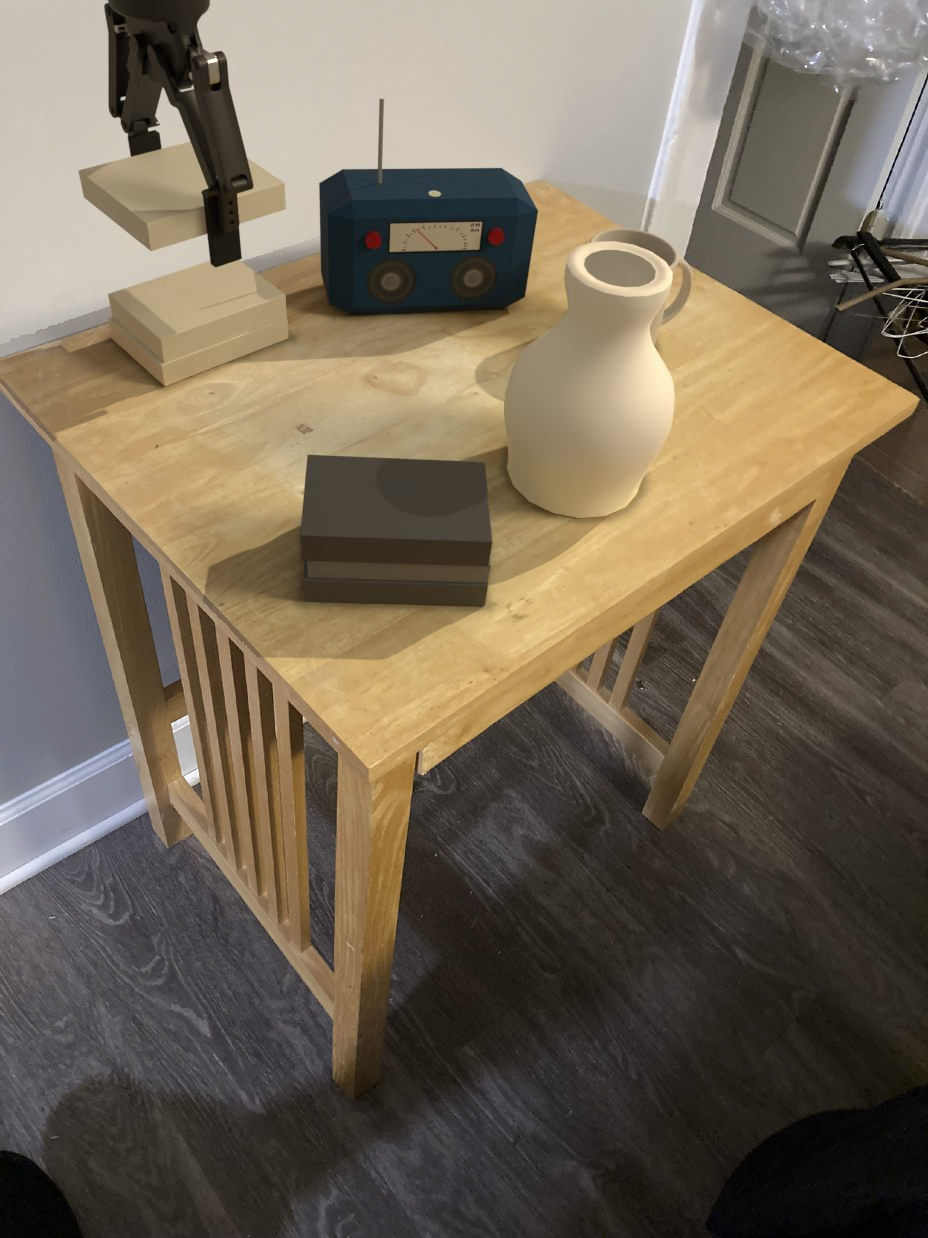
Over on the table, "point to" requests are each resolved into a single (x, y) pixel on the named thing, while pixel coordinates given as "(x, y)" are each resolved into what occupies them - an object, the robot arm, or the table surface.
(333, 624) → the table surface
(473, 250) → the radio
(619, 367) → the vase
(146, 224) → the beige flat block
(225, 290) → the beige rectangular block
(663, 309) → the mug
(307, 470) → the dark brown box
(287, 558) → the table surface
